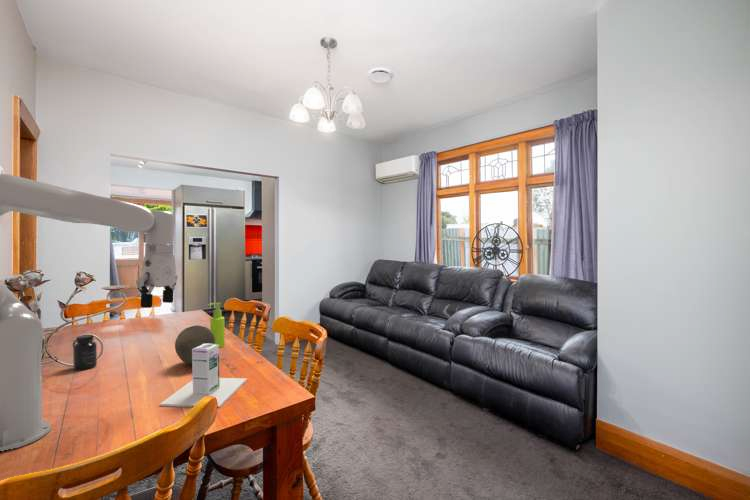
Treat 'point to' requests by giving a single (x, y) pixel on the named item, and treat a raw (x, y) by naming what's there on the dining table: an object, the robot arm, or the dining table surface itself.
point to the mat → (189, 398)
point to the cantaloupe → (192, 341)
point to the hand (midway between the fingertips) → (157, 304)
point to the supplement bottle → (84, 353)
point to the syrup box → (205, 368)
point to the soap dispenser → (218, 325)
